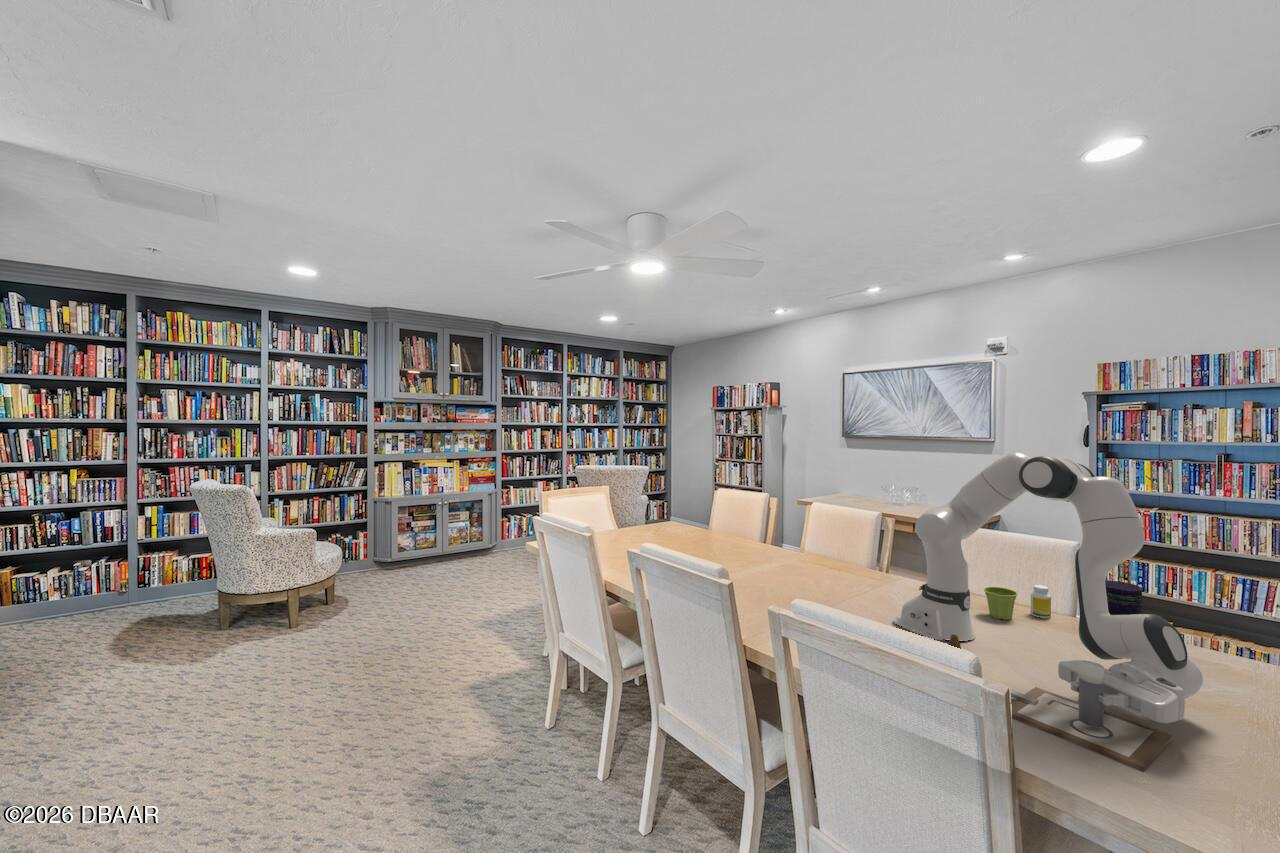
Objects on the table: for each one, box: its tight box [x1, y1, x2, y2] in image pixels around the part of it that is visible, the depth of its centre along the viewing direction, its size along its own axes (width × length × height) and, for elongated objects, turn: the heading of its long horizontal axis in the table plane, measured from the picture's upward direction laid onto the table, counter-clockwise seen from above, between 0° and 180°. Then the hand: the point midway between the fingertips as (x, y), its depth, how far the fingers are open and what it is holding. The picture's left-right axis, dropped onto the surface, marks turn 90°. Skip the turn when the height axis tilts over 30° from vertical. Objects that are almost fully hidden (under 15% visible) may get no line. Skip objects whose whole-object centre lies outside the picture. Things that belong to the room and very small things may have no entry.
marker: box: [1078, 660, 1105, 727], centre depth 112 cm, size 4×4×12 cm
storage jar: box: [1105, 580, 1144, 615], centre depth 163 cm, size 10×10×15 cm
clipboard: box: [1010, 686, 1173, 772], centre depth 116 cm, size 26×18×2 cm
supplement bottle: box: [1030, 584, 1052, 619], centre depth 179 cm, size 5×5×10 cm
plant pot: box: [983, 586, 1019, 621], centre depth 178 cm, size 9×9×9 cm
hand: (1087, 693), depth 112 cm, fingers closed on marker, 4 cm apart
